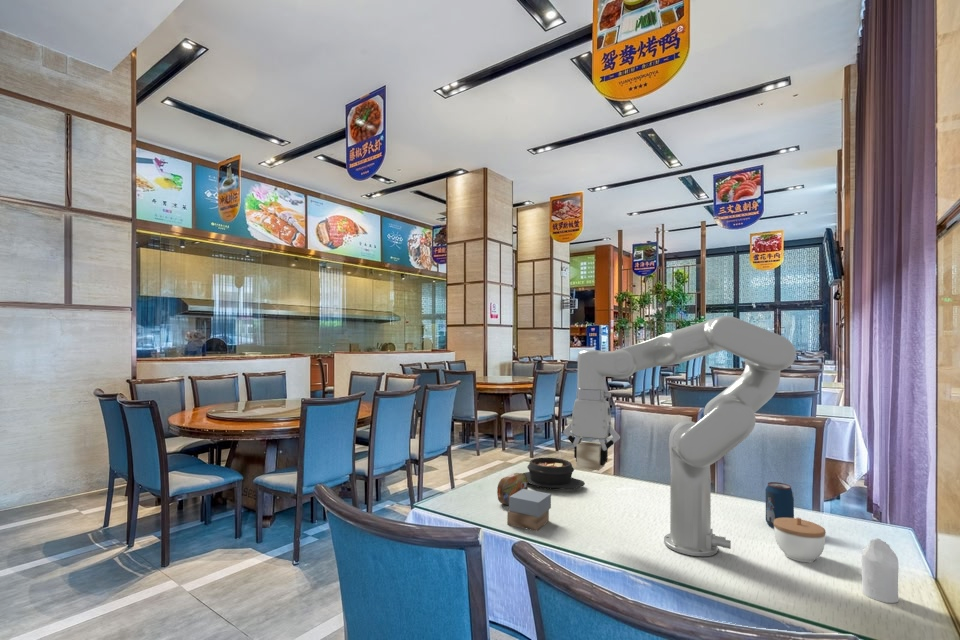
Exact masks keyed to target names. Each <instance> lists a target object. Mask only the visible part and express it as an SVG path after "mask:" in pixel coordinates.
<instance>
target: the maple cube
mask: <svg viewBox="0 0 960 640" xmlns="http://www.w3.org/2000/svg"><path fill="white" fill-rule="evenodd" d="M601 450H602V447H601V444H600V442H595V441H587V440H586V441H585V440H581V443H579V444H577V462H576V463H575V464H576V467H575V468H578V469H587V470H593V471H597V472H598V471H601V469H603V468H604V467H605V465H606V463H605V464H604V465H603V466H602V465H600V451H601Z"/></svg>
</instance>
